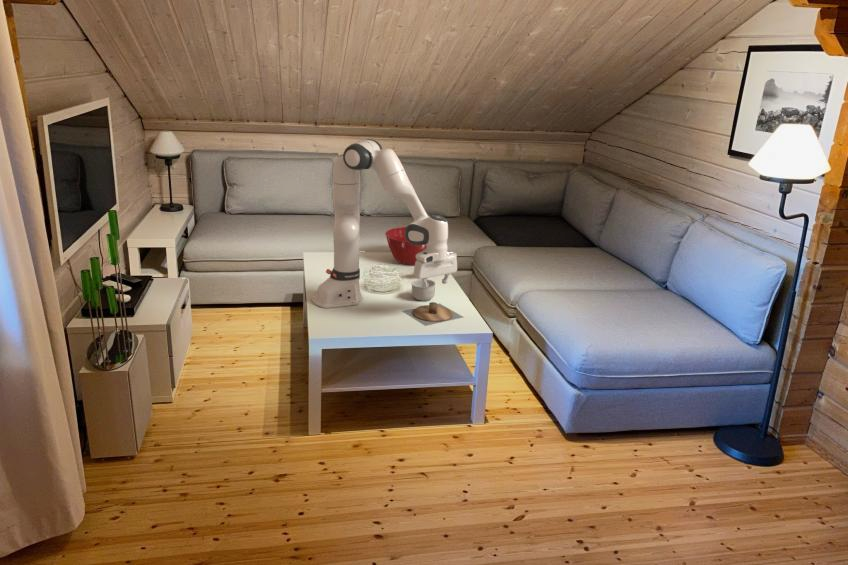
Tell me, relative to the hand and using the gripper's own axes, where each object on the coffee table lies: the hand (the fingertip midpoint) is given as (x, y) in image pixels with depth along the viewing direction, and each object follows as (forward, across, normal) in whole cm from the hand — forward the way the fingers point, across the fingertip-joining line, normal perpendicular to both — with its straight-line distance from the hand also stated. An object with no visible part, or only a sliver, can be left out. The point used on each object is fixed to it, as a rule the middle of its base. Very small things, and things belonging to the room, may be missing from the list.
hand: (435, 285), depth 283 cm
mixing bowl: (+14, -32, -68) cm, 76 cm away
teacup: (+14, -8, -19) cm, 25 cm away
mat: (+14, 0, 0) cm, 14 cm away
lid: (+13, 0, 0) cm, 13 cm away
